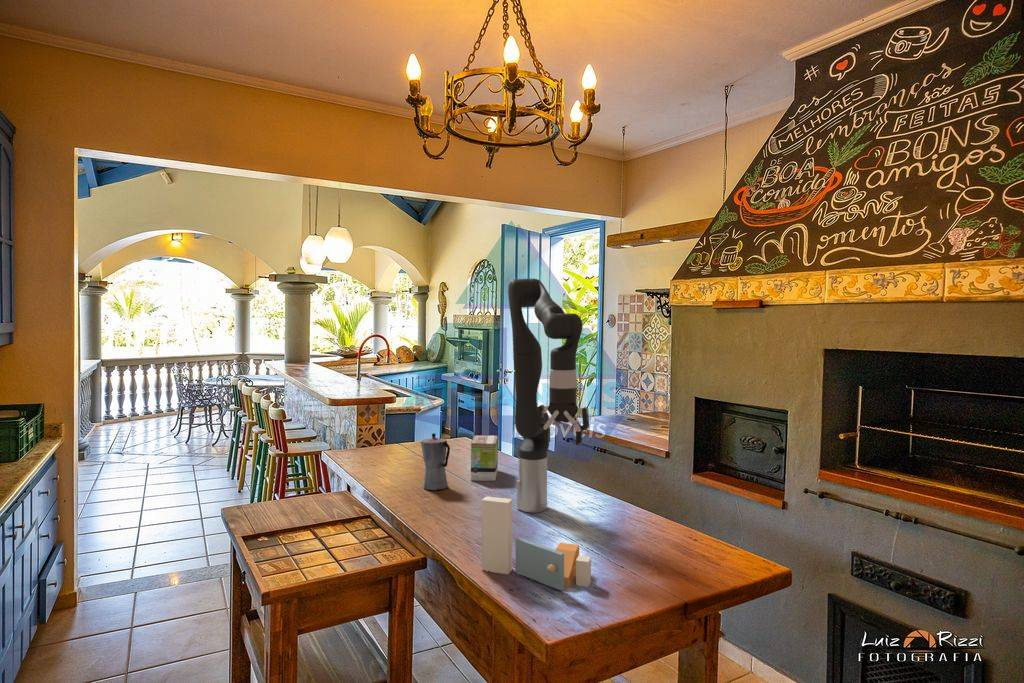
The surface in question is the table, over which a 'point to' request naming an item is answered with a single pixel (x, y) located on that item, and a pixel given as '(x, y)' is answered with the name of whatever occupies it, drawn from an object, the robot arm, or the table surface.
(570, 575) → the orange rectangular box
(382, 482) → the table surface
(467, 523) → the table surface
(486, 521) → the door frame
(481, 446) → the tea box
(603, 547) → the table surface
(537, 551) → the door
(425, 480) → the moka pot
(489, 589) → the table surface
